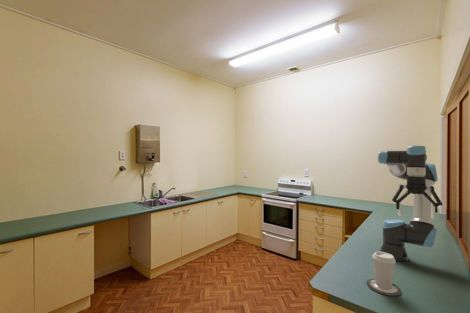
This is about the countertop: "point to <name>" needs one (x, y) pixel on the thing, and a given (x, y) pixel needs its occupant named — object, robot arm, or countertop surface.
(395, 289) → the plate
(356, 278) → the countertop surface
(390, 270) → the coffee cup
